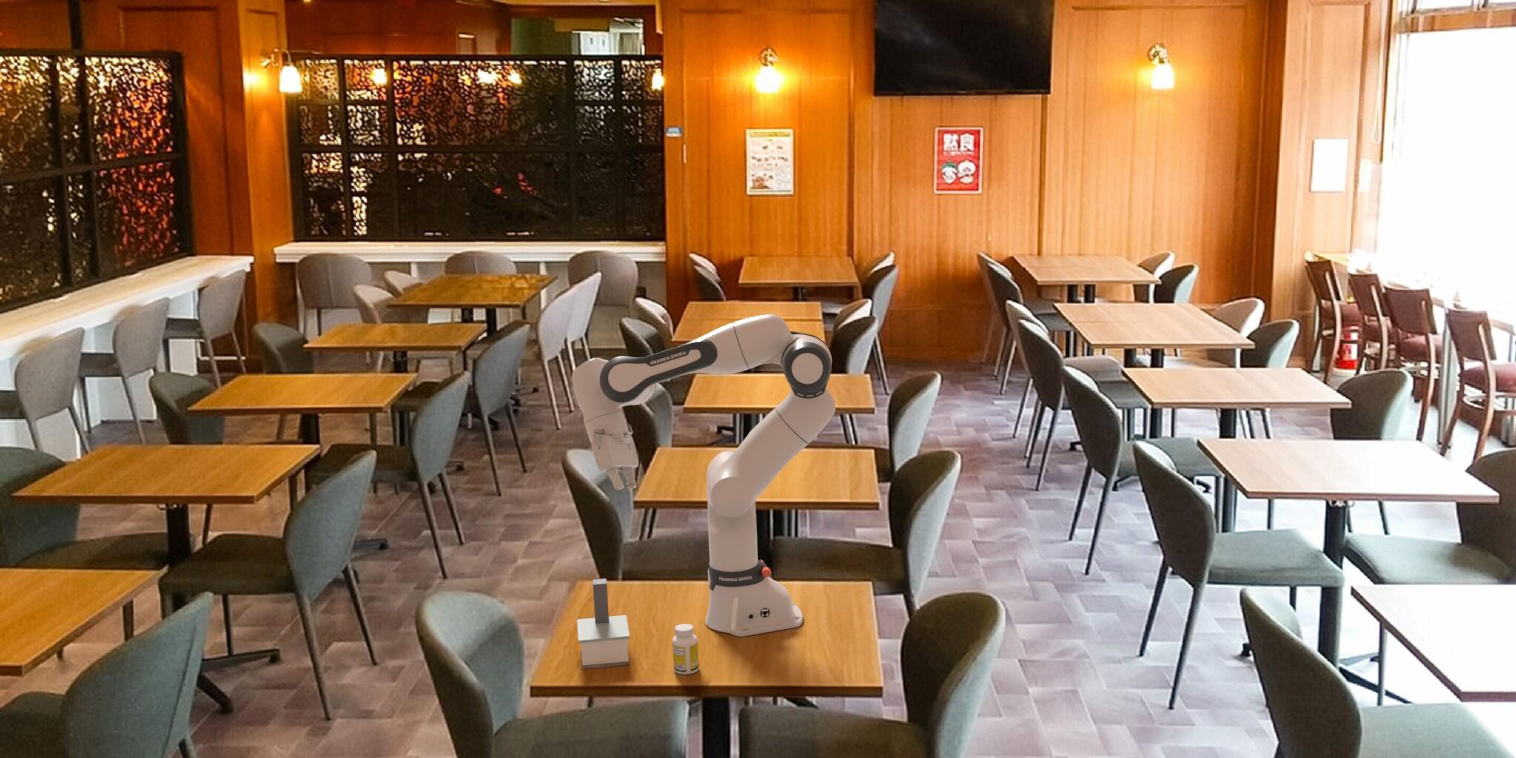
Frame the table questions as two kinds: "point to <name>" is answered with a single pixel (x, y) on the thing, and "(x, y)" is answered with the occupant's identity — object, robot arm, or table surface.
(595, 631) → the carton lid
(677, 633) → the supplement bottle
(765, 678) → the table surface
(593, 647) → the carton
